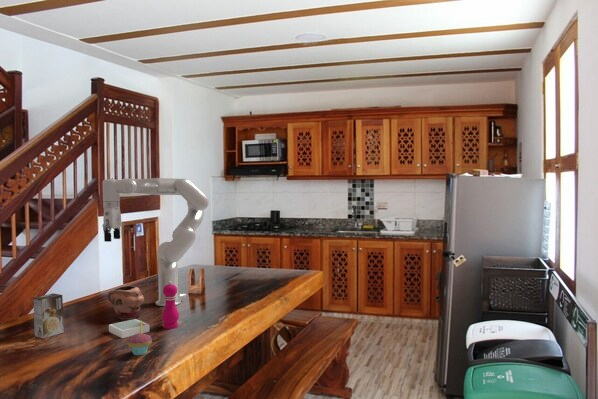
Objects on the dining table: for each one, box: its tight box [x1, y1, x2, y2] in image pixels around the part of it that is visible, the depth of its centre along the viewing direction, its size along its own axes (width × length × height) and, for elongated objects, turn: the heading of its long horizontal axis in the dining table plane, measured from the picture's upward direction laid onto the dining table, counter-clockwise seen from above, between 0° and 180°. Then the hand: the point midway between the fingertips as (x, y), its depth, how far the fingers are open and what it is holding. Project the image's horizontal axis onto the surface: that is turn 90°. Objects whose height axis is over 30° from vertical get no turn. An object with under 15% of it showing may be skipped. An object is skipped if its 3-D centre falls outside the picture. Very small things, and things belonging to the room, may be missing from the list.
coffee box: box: [32, 293, 65, 339], centre depth 206 cm, size 9×6×16 cm
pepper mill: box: [161, 281, 180, 330], centre depth 217 cm, size 7×7×20 cm
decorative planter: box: [107, 285, 145, 320], centre depth 232 cm, size 20×12×14 cm, turn 74°
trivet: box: [108, 318, 150, 339], centre depth 210 cm, size 12×12×3 cm
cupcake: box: [127, 321, 153, 356], centre depth 184 cm, size 9×8×12 cm
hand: (112, 240), depth 242 cm, fingers open, 9 cm apart
